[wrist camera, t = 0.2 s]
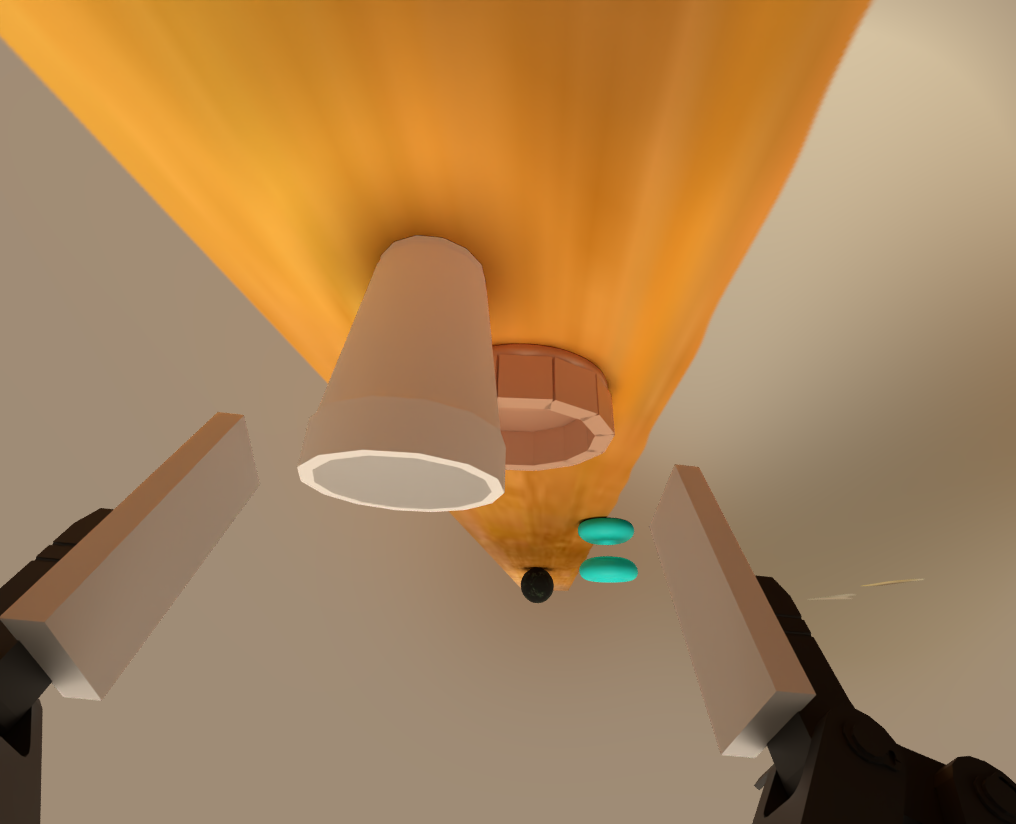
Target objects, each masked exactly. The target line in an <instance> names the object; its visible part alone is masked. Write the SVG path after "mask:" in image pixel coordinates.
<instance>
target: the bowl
mask: <svg viewBox="0 0 1016 824" xmlns="http://www.w3.org/2000/svg"><path fill="white" fill-rule="evenodd" d="M492 349H493V360H494V370H495V380H496V390H497V401H498V411H499V421H500V431H501V435H502V437H503V440H504V443H505V446H506V460H505V470H527V471H535V470H537V471H539V470H546V469H553V468H559V467H566V466H573V465H577V464H579V463H581V462H584V461H586V460H588V459H591V458H593V457H595V456H598V455H600V454H602V453H603V452H605V450H606V449H607V447H608V445H609V444H610V442H611V440H612V439H613V437H614V435H615V433H614V421H613V408H612V396H611V394H610V392H609V391H608V385H607V380H606V378H605V376H604V374H603V373H602V372H601V371H600V369H599V368H598V367H596V366H595V365H594V364H593V363H591V362H590V361H588V360H587V359H585V358H583V357H581V356H579V355H577V354H574V353H571V352H568V351H565V350H562V349H558V348H554V347H548V346H542V345H532V344H506V345H496V346H492Z"/></svg>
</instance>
